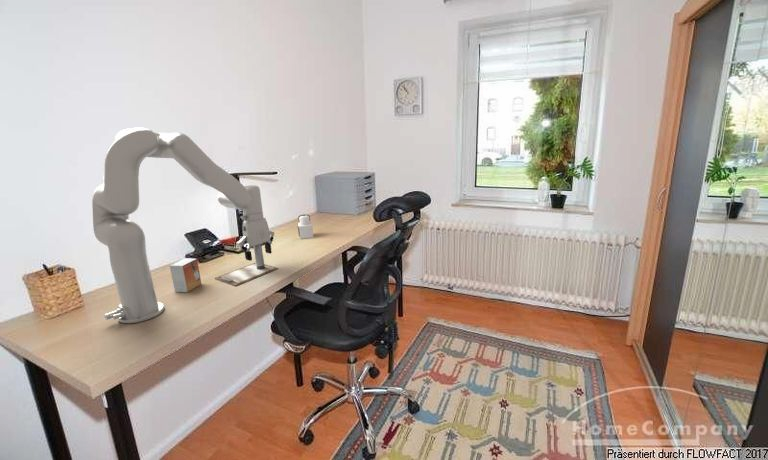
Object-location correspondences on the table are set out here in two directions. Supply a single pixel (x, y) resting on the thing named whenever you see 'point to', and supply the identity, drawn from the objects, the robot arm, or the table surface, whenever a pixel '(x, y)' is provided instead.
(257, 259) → the marker
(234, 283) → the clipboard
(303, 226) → the medicine bottle
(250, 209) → the robot arm
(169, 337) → the table surface
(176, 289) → the small box
